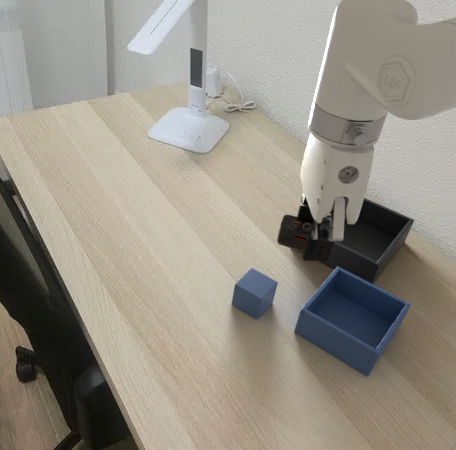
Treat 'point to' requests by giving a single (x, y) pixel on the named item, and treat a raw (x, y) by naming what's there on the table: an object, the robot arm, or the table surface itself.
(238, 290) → the blue block
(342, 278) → the blue bin
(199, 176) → the table surface
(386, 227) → the charcoal bin
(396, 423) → the table surface
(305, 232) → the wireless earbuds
